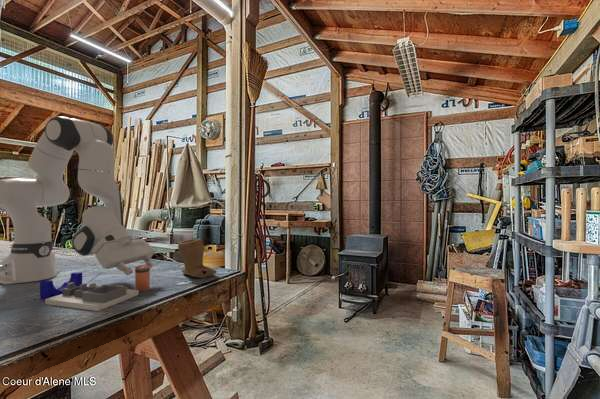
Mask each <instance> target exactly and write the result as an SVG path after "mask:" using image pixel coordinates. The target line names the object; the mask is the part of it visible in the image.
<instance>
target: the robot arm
mask: <svg viewBox="0 0 600 399" xmlns="http://www.w3.org/2000/svg"><path fill="white" fill-rule="evenodd" d="M113 144H114V135H113V132H112V131H111V130H110V129H109V128H108V127H106V126H104V125H102V124H97V123H95V122H91V121H88V120H83V119H79V118H78V119H77V118H70V117H67V116H53V117H51V118H49V120H48V121H47V122H46V125H45V127H44V131H43V133H42V134H41V136H40V137H39V139H38V141H37V142H36V144H35V146H34V148H33V150H32V152H31V154H30V157H29V158H28V160H27V161H28V166H29V168H30V170H31V171H33V172H34V173H35V174H36V177H34V178H22V177H21V178H20V177H12V178H11V177H10V178H3V179H0V208H1V209H2V210H4V211H5V212H6V213H7V215H8V216H9V218H10V219H11V222H12V226H13V228H12V229H13V244H10V245H9V246H10V247H9V249H10V254H8V255H7V256H6V257H5V258H4V259H2V260H1V261H0V284H3V285H14V284H22V283H32V282H38V281H39V282H40V281H43V280H49V279H52V278H54V277H56V276H57V275H58V274H59V273H60V271H59V269H57V262H56V256H55V253H53V249H54V248H53V247H54V243H53V240H52V222H51V221H50V220H49V219H48V218H46V217H44V216H42V215H40V213H39V212H38V207H39V208H41V207H54V206H59V205H63V204H65V203H67V201H68V200H69V199H70V195H71V194H70V189H69V187H68V185H67V184H66V183H65V182H64V173H65V170H66V169H67V166H68V164H69V162H70V160H71V158H72V156H73V153H74V151H75V152H76V153H77V154H78V167H77V183H78V186H79V187H80V188H81V190H83V192H85V193H86V194H88V195H89V196H90V195H91V196H92V197H96V198H97V199H99V200H100V201H102V202H103V204H104V205H93V206H91V207H89V208H87V209H85V210H84V211H83V213H82V215H81V216H82V218H81V219H82V222H81V225H80V228H79V230H78V231H77V232H76V233H75V234H74V236H73V238H72V247H73V249H74V251H75V252H76V253H77V254H79V255H80V256H83V257H86V256H93V255H95V258H96V260H97V262H98V264H100V265H101V266H102V268H104V269H106V270H110V269H113V268H116V269H117V270H119V271H120V272H123V273H124V274H125V276H128V275H131V274H132V273H133V271H134V270H133V269H132V268H131V267H128V266H127V265H129V264H132V263H136V262H137V263H138V262H140V261H143V262H145V265H149V266H150V269H152V267H154V264H153V262H152V260H151V259H152V257H153V255H154V254H156V253H155V249H154V248H153V247H152V246H151V244H149V243H148V242H147V241H146V240H144V239H142V238H139V237H135V238H133V236H132V235H131V233H130V232H129V231H128V230H127V228H126V227H125V226H124V225H125V224H124V212H123V200H122V194H121V193H122V192H121V190H120V189H119V187H118V185H117V184H116V180H115V179H116V178H115V166H116V165H115V164H116V163H115V154H114V148H113V147H112V146H113Z"/></svg>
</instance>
